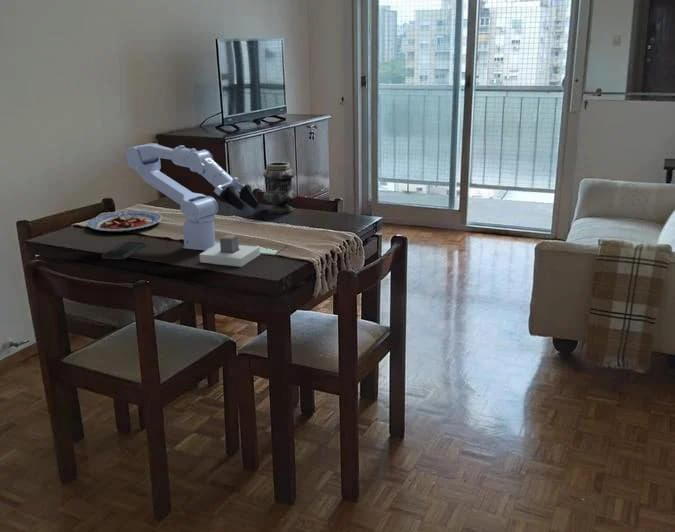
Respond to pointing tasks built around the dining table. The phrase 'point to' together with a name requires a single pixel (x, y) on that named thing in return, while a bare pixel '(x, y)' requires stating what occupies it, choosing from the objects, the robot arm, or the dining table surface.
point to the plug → (229, 244)
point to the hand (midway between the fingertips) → (250, 207)
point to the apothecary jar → (279, 186)
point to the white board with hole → (230, 256)
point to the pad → (267, 251)
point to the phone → (123, 250)
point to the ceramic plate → (123, 221)
